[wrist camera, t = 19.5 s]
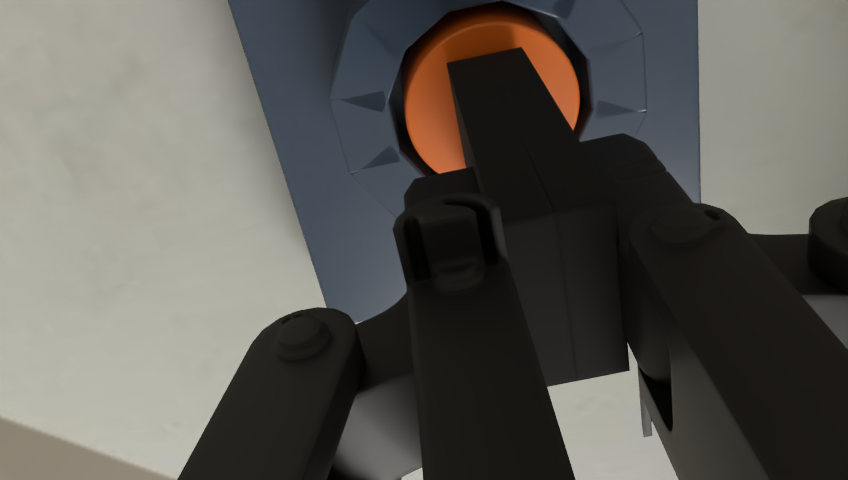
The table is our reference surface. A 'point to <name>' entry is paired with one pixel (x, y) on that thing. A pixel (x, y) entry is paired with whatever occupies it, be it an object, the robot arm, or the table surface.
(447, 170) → the orange button
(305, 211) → the grey button base
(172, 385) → the table surface
